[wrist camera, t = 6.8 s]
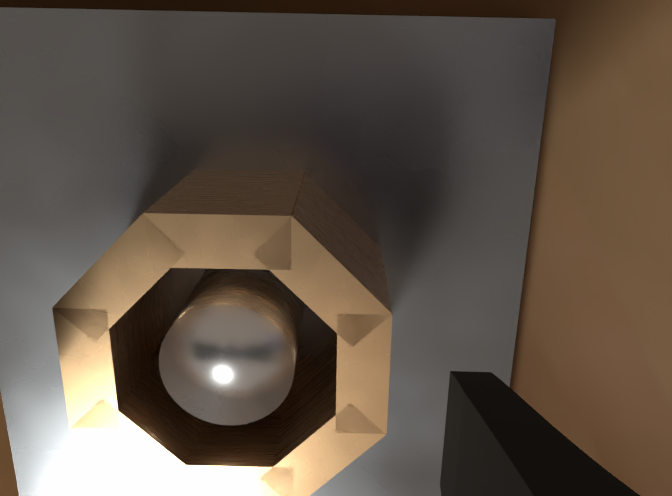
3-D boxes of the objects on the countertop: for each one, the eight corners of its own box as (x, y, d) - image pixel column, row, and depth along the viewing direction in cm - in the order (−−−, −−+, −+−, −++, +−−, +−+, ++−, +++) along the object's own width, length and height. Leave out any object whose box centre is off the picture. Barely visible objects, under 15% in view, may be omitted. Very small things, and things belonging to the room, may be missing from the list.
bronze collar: (384, 172, 13) (397, 217, 10) (374, 405, 15) (382, 510, 11) (115, 168, 13) (37, 211, 10) (138, 401, 15) (80, 503, 11)
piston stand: (537, 20, 13) (624, 11, 9) (482, 489, 17) (525, 629, 13) (-32, 8, 13) (-198, -5, 9) (43, 478, 17) (-50, 614, 13)
